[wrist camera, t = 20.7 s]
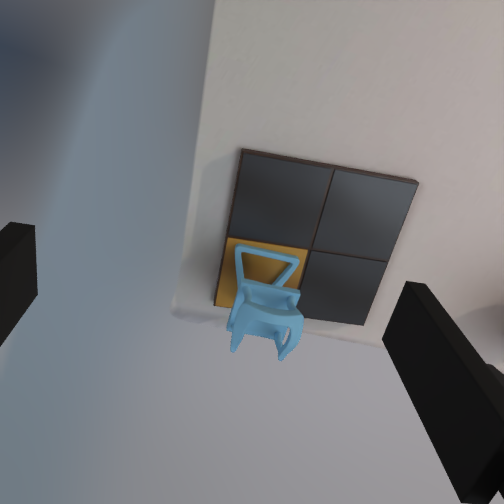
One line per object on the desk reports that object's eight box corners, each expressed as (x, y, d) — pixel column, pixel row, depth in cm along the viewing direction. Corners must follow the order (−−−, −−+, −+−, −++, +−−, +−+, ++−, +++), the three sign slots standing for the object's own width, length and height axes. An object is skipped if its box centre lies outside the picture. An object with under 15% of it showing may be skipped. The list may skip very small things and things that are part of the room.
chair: (219, 300, 53) (217, 368, 43) (236, 242, 50) (238, 300, 39) (279, 311, 55) (290, 380, 44) (299, 256, 51) (317, 316, 40)
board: (241, 148, 46) (242, 151, 45) (416, 179, 48) (420, 183, 47) (213, 301, 55) (213, 306, 54) (361, 321, 57) (364, 326, 56)
